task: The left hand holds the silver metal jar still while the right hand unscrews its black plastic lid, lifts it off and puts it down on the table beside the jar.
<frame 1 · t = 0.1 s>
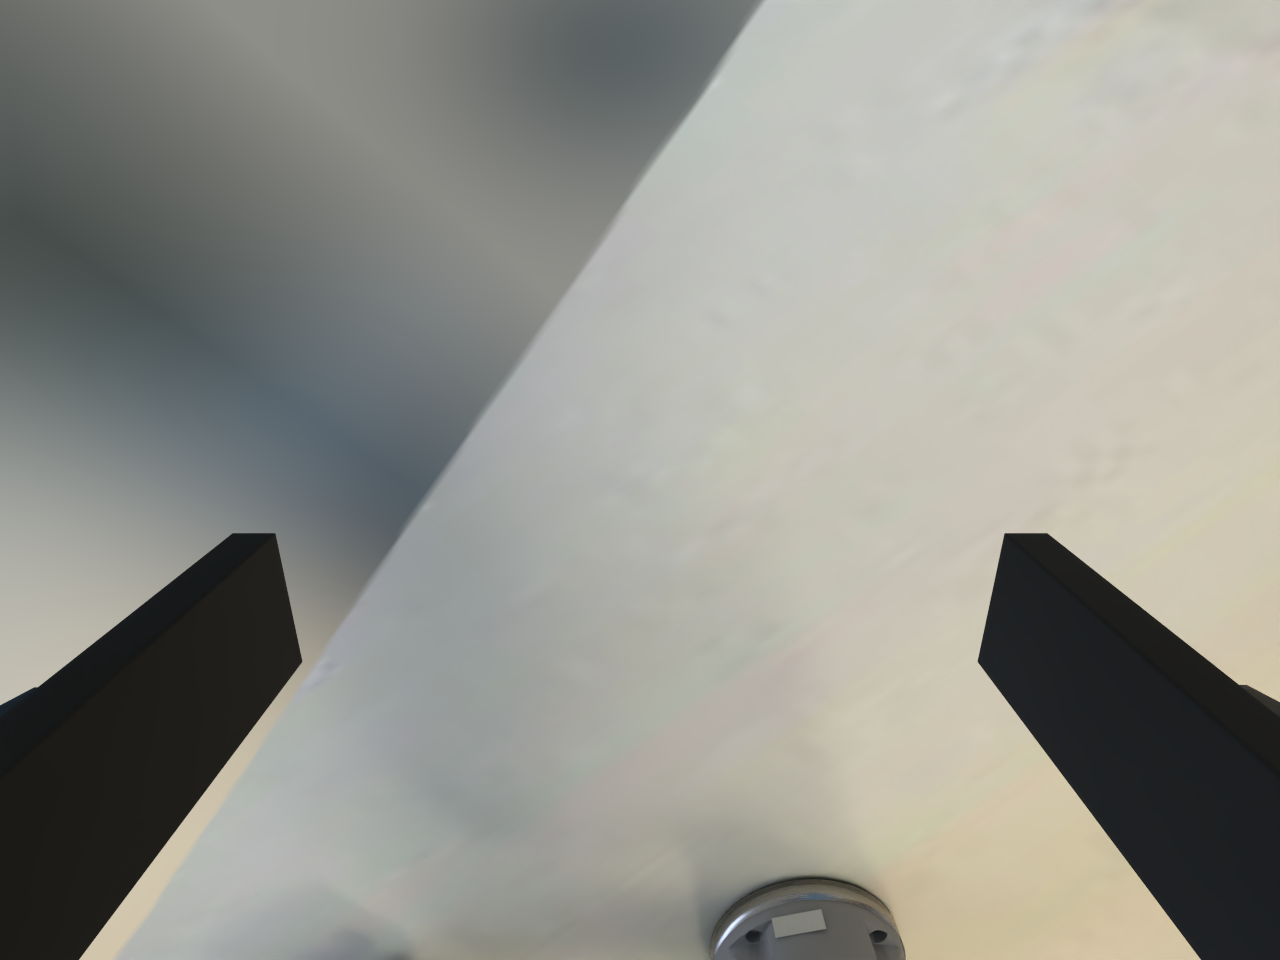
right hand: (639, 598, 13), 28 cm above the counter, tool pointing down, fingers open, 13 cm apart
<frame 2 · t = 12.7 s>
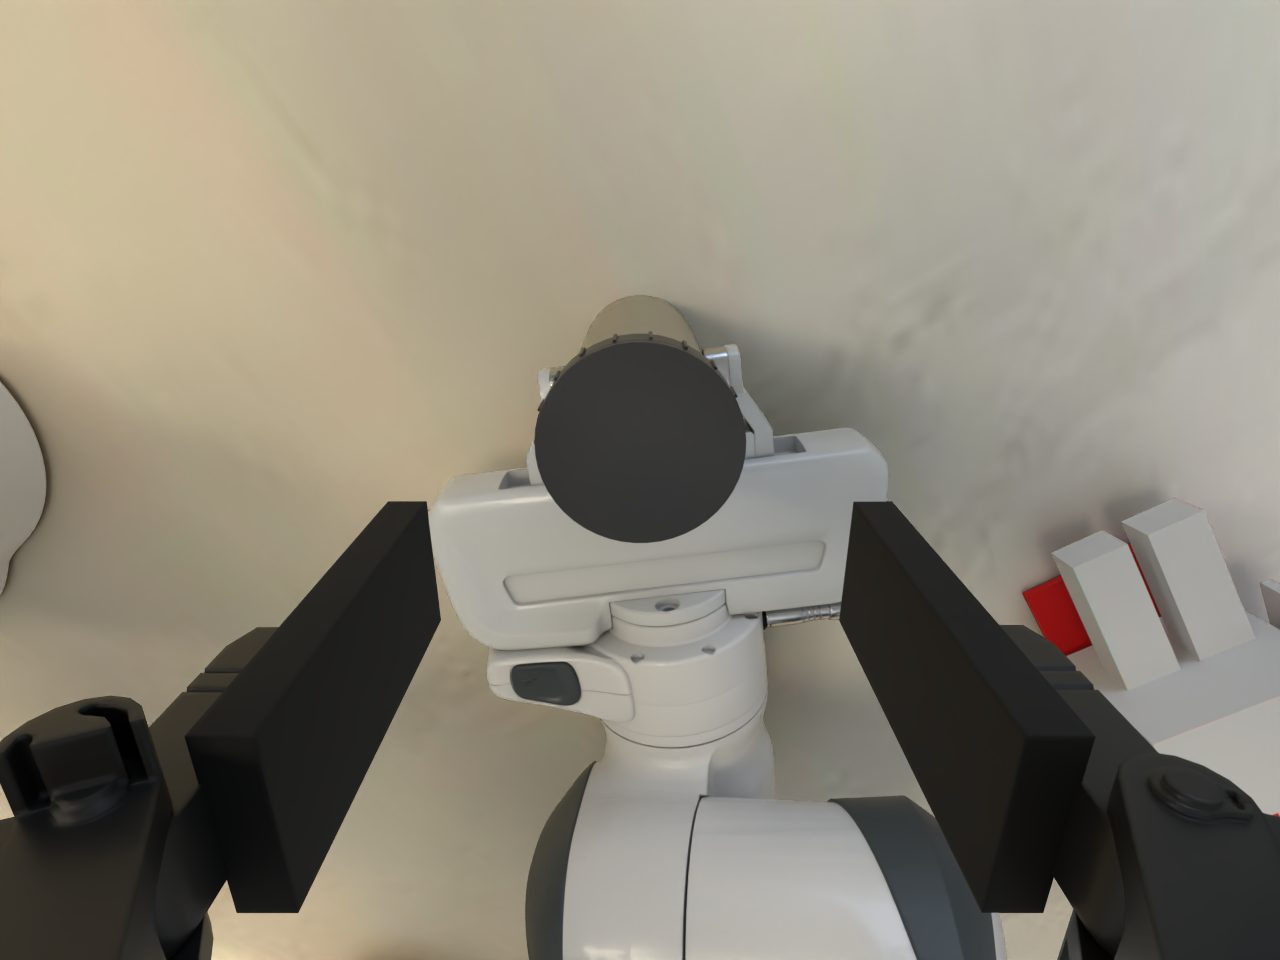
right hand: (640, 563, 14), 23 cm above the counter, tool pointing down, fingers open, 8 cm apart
left hand: (636, 358, 29), fingers closed on jar, 5 cm apart
jar: (640, 351, 35), on the counter, touching left hand
toy: (1144, 695, 43), on the counter
lid: (640, 444, 21), point 15 cm above the counter, screwed on, not yet turned
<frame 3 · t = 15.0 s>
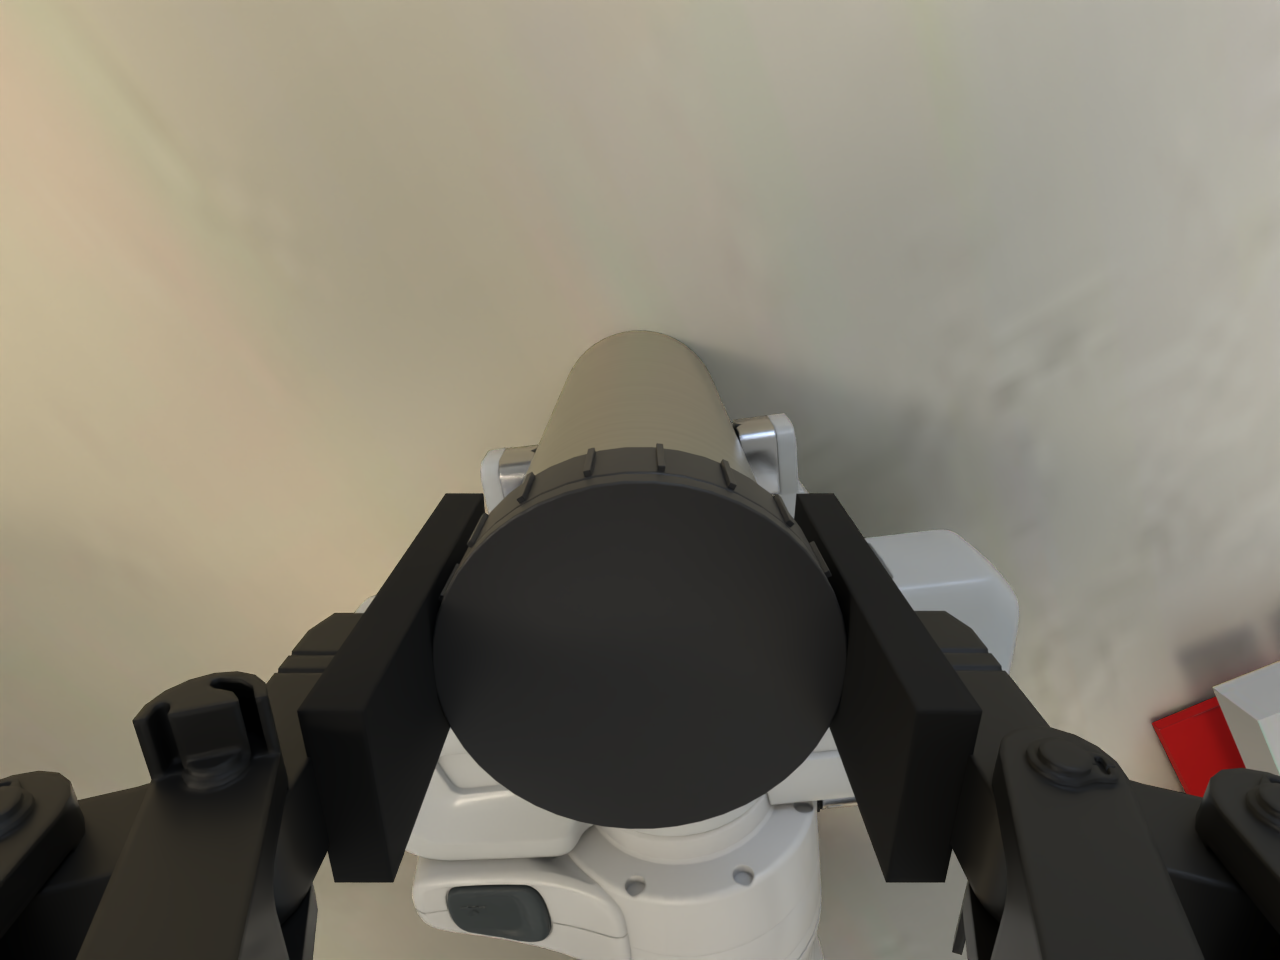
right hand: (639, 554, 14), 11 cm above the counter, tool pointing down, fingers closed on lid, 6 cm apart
jar: (639, 408, 25), on the counter, touching left hand
lid: (639, 660, 11), point 15 cm above the counter, screwed on, not yet turned, touching right hand
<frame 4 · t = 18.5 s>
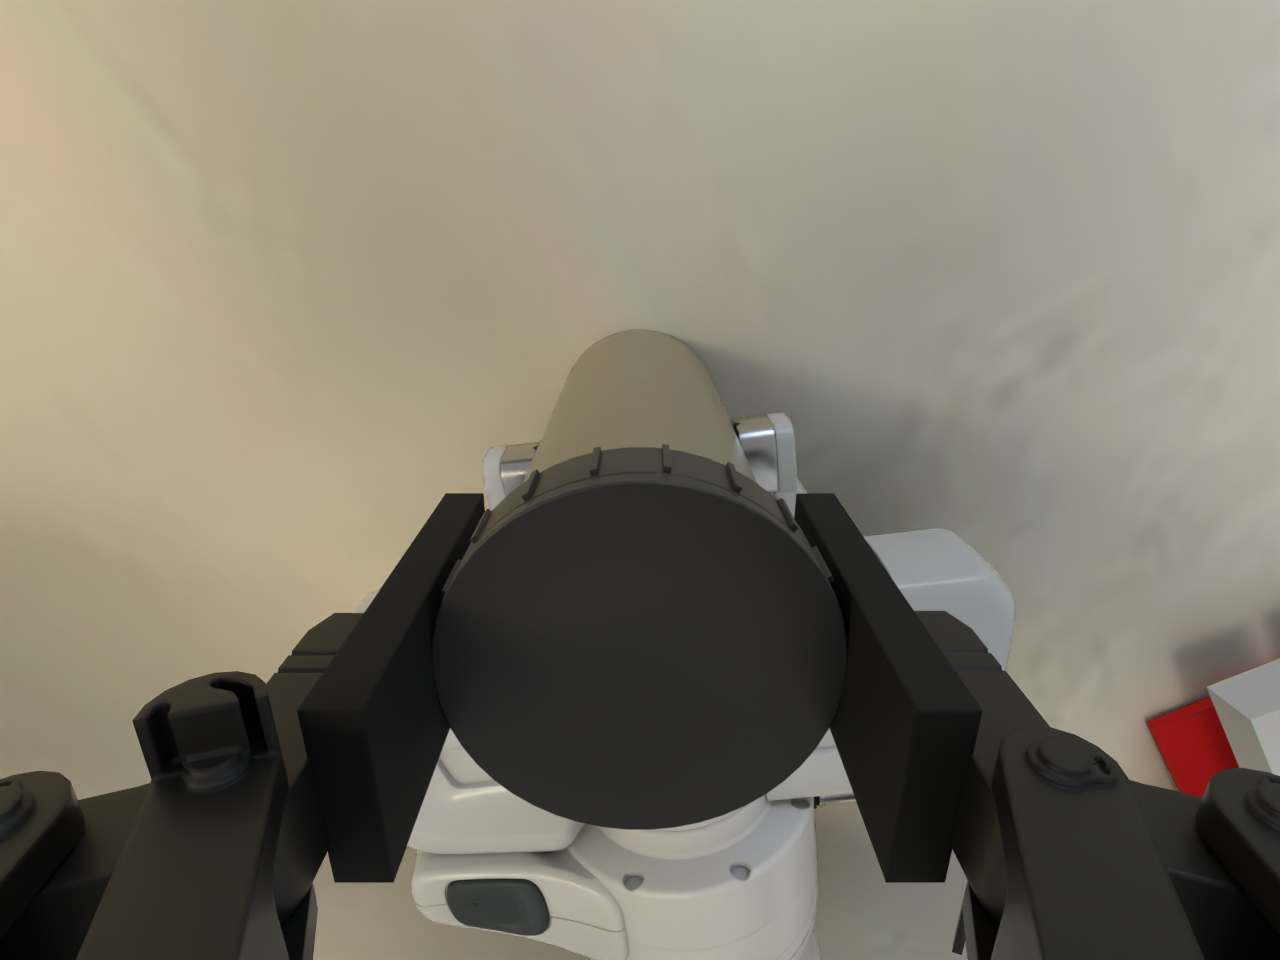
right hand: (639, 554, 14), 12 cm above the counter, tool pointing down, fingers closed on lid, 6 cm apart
jar: (639, 406, 25), on the counter, touching left hand
lid: (639, 661, 11), point 15 cm above the counter, turned 112° so far, risen 0.2 cm, still on its thread, touching right hand
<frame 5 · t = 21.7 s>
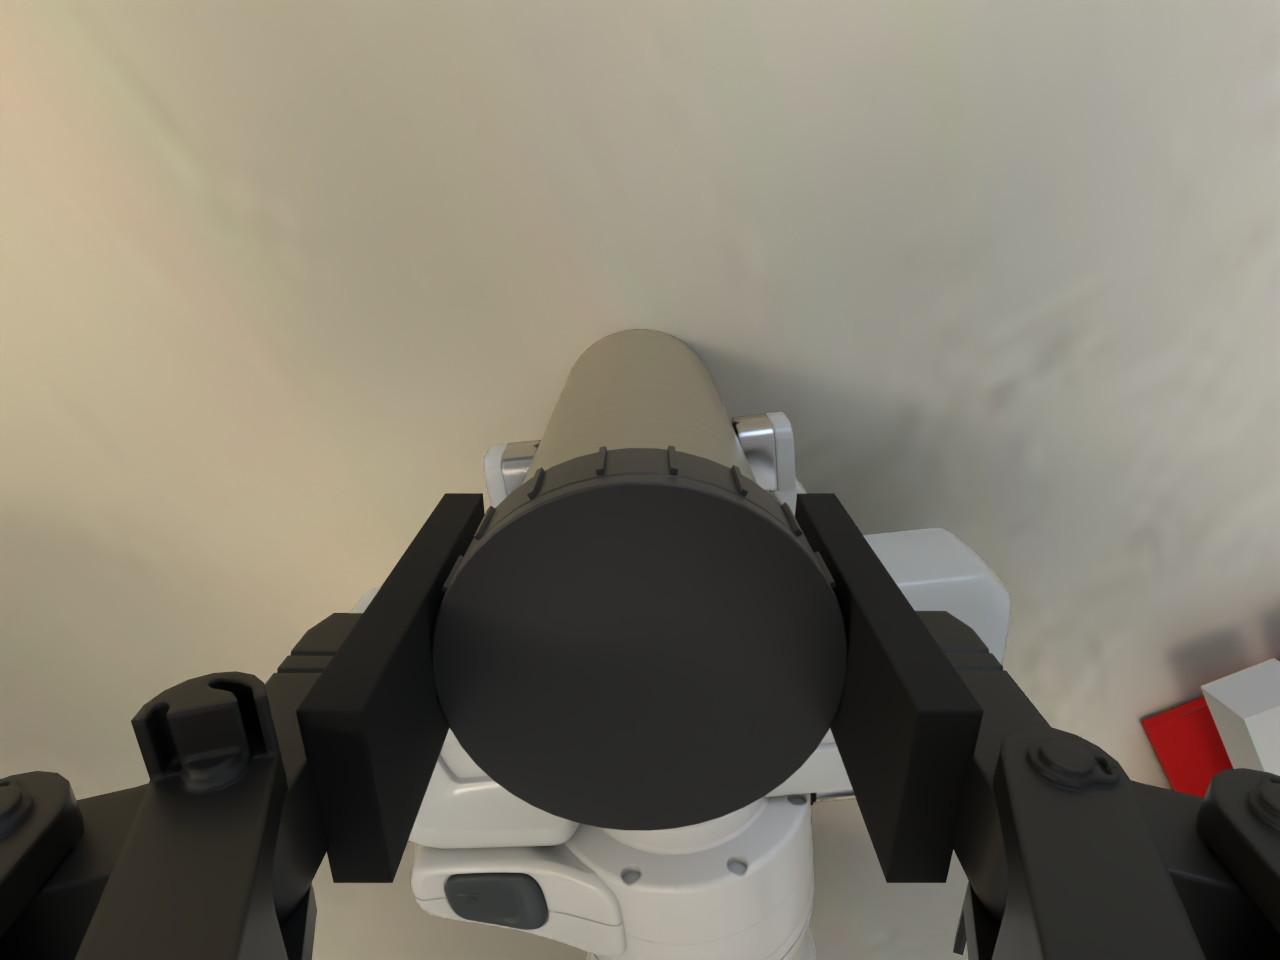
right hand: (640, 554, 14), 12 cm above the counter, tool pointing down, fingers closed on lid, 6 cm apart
jar: (639, 405, 25), on the counter, touching left hand
lid: (639, 662, 11), point 15 cm above the counter, turned 225° so far, risen 0.4 cm, still on its thread, touching right hand
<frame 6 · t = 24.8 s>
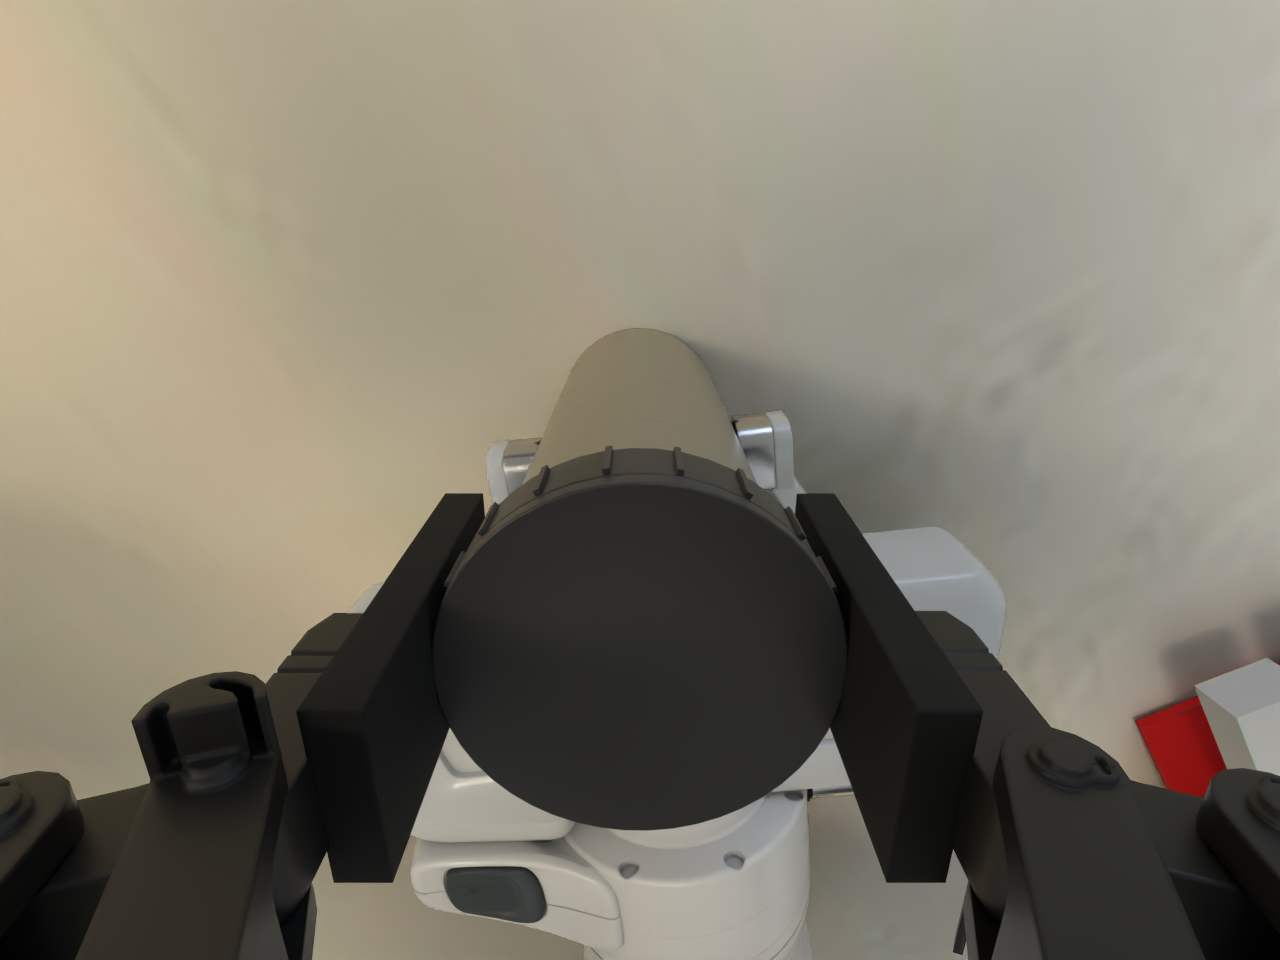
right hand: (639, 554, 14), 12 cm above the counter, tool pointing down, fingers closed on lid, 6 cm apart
jar: (639, 404, 26), on the counter, touching left hand
toy: (1278, 844, 33), on the counter
lid: (639, 662, 11), point 16 cm above the counter, turned 337° so far, risen 0.6 cm, still on its thread, touching right hand
when the right hand's fingers open (0 cm above the counter, at t = 30.6 s): lid drops 3 cm, point 1 cm above the counter.
when the left hand's fingers open (6 cm above the counter, at t = 32.4 s): jar stays where it is, on the counter.
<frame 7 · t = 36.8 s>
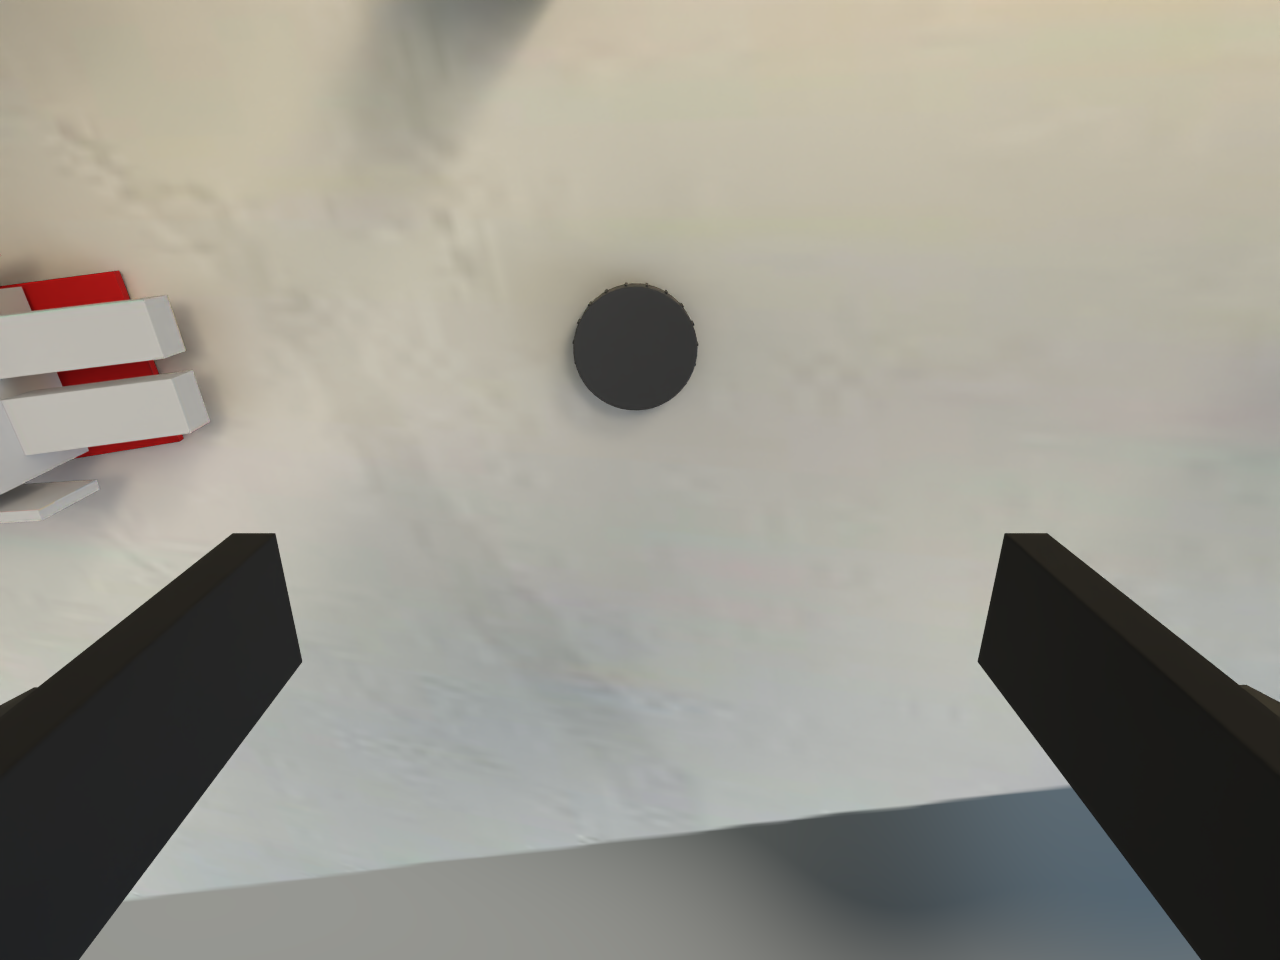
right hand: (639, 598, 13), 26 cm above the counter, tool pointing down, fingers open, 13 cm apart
lid: (635, 349, 36), point 1 cm above the counter, off its thread
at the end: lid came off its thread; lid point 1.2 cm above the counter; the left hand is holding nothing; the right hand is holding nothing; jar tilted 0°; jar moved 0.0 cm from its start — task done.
